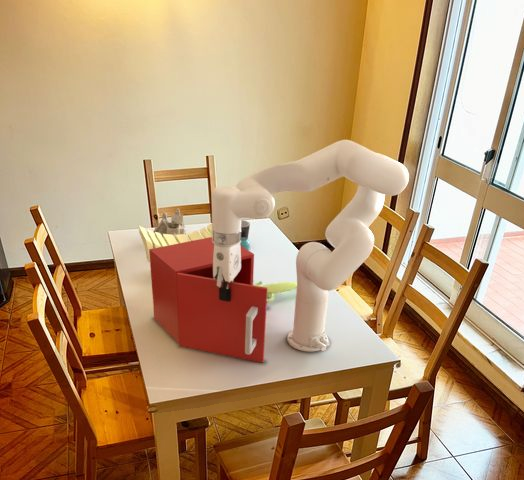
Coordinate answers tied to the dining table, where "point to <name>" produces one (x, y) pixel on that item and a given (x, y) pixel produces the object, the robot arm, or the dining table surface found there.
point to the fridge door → (222, 317)
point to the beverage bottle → (244, 239)
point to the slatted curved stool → (170, 238)
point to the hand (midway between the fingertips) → (226, 298)
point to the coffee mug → (245, 226)
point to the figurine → (277, 288)
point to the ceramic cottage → (171, 225)
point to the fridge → (188, 262)
